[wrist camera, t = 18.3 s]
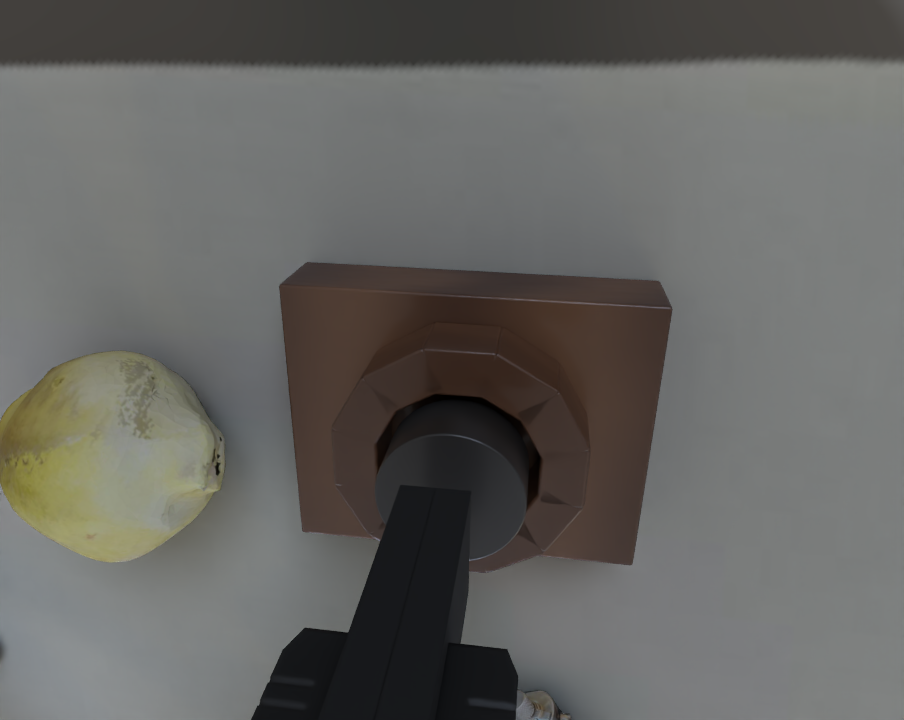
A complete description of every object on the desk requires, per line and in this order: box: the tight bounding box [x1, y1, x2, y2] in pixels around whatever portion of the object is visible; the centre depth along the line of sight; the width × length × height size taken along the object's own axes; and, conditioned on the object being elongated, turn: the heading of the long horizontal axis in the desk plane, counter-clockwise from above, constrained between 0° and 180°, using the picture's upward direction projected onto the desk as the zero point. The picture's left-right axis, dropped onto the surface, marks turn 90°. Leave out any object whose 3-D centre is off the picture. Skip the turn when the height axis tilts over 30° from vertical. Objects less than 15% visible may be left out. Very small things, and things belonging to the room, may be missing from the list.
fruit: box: [0, 351, 226, 563], centre depth 21 cm, size 6×6×10 cm
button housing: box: [279, 262, 672, 573], centre depth 19 cm, size 10×8×4 cm
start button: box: [375, 399, 529, 561], centre depth 17 cm, size 4×4×2 cm
